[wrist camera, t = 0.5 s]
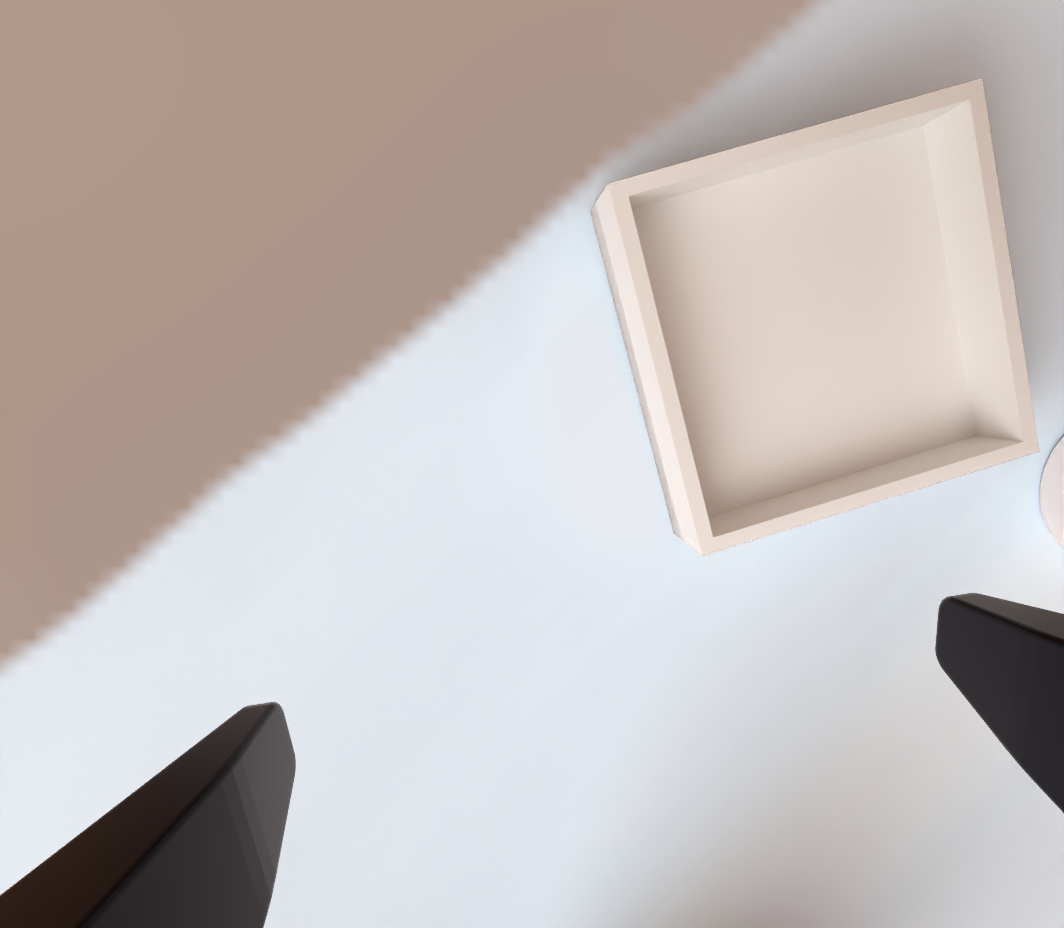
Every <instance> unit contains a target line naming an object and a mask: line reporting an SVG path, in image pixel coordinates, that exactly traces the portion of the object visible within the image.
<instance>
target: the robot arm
mask: <svg viewBox="0 0 1064 928" xmlns="http://www.w3.org/2000/svg"><path fill="white" fill-rule="evenodd" d="M935 649H936V656H937V659H938V662H939V664H940V666H941V667H942V669H943V670H944V671H945V673H946V674H947V675H948V676H949V678H950V679H951V680H952V681H953V683H954V684H955V685H956V687H957V688H958V689H959V690H960V692H961V693H962V694H963V695H964V697H965V698H966V699H967V700H968V702H969V703H970V704H971V705H972V707H973V708H974V709H975V710H976V712H977V713H978V714H979V715H980V717H981V718H982V719H983V720H984V722H985V723H986V724H987V725H988V727H989V728H990V729H991V731H992V732H993V733H994V734H995V736H996V737H997V738H998V739H999V741H1000V742H1001V743H1002V744H1003V746H1004V747H1005V748H1006V749H1007V751H1008V752H1009V753H1010V754H1011V755H1012V757H1013V758H1014V759H1015V760H1016V761H1017V763H1018V764H1019V765H1020V766H1021V767H1022V768H1023V770H1024V771H1025V772H1026V773H1027V774H1028V775H1029V776H1030V777H1031V778H1032V780H1033V781H1034V782H1035V783H1036V784H1037V785H1038V786H1039V787H1040V788H1041V789H1042V790H1043V791H1044V792H1045V794H1046V795H1047V796H1048V797H1049V798H1050V799H1051V800H1052V801H1053V802H1054V803H1055V804H1056V805H1057V806H1058V807H1059V808H1060V810H1061V811H1062V812H1063V813H1064V614H1061V613H1057V612H1053V611H1049V610H1045V609H1040V608H1036V607H1032V606H1028V605H1024V604H1020V603H1015V602H1011V601H1007V600H1003V599H999V598H994V597H990V596H986V595H982V594H977V593H968V594H962V595H956V596H950V597H946V598H945V599H943V600H942V602H941V604H940V605H939V612H938V623H937V635H936V647H935ZM295 767H296V762H295V753H294V749H293V746H292V742H291V738H290V734H289V731H288V727H287V723H286V719H285V716H284V712H283V710H282V708H281V706H280V705H279V704H278V703H276V702H270V703H263V704H257V705H250V706H246V707H244V708H242V709H241V710H240V711H238V712H237V713H236V714H234V715H233V716H232V717H231V718H229V719H228V720H227V721H225V722H224V723H223V724H222V725H220V726H219V727H218V728H216V729H215V730H214V731H212V732H211V733H210V734H209V735H207V736H206V737H205V738H203V739H202V740H201V741H200V742H198V743H197V744H196V745H194V746H193V747H192V748H190V749H189V750H188V751H187V752H185V753H184V754H183V755H181V756H180V757H179V758H177V759H176V760H175V761H174V762H172V763H171V764H170V765H168V766H167V767H166V768H165V769H163V770H162V771H161V772H159V773H158V774H157V775H155V776H154V777H153V778H152V779H150V780H149V781H148V782H146V783H145V784H144V785H143V786H141V787H140V788H139V789H137V790H136V791H135V792H133V793H132V794H131V795H130V796H128V797H127V798H126V799H124V800H123V801H122V802H121V803H119V804H118V805H117V806H115V807H114V808H113V809H111V810H110V811H109V812H108V813H106V814H105V815H104V816H102V817H101V818H100V819H98V820H97V821H96V822H95V823H93V824H92V825H91V826H89V827H88V828H87V829H86V830H84V831H83V832H82V833H80V834H79V835H78V836H76V837H75V838H74V839H73V840H71V841H70V842H69V843H67V844H66V845H65V846H64V847H62V848H61V849H60V850H58V851H57V852H56V853H54V854H53V855H52V856H51V857H49V858H48V859H47V860H45V861H44V862H43V863H42V864H40V865H39V866H38V867H36V868H35V869H34V870H32V871H31V872H30V873H29V874H27V875H26V876H25V877H23V878H22V879H21V880H19V881H18V882H17V883H16V884H14V885H13V886H12V887H10V888H9V889H8V890H7V891H5V892H4V893H3V894H1V895H0V928H263V927H264V923H265V920H266V916H267V912H268V909H269V905H270V901H271V897H272V892H273V888H274V883H275V878H276V873H277V868H278V862H279V857H280V852H281V846H282V841H283V836H284V830H285V825H286V819H287V814H288V809H289V803H290V798H291V793H292V787H293V782H294V777H295Z"/></svg>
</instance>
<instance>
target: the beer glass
mask: <svg viewBox="0 0 1064 928" xmlns="http://www.w3.org/2000/svg"><path fill="white" fill-rule="evenodd" d="M1040 507H1041V512H1042V516H1043V519H1044V522H1045V524H1046V526H1047V528H1048V530H1049V532H1050V533H1051V535H1052V536H1053V537H1054V539H1055V540H1056V541H1057V542H1058V543H1059V544H1060V545H1061V546H1063V547H1064V436H1063V437H1062V438H1061V440H1060V441H1059V442H1058V443H1057V445H1056V446H1055V448H1054V449H1053V451H1052V452H1051V454H1050V456H1049V458H1048V460H1047V462H1046V465H1045V467H1044V470H1043V474H1042V478H1041V483H1040Z"/></svg>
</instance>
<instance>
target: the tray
mask: <svg viewBox="0 0 1064 928" xmlns="http://www.w3.org/2000/svg"><path fill="white" fill-rule="evenodd" d="M590 212H591V216H592V220H593V223H594V227H595V231H596V235H597V239H598V243H599V247H600V250H601V254H602V258H603V262H604V266H605V270H606V274H607V277H608V281H609V285H610V289H611V293H612V297H613V301H614V304H615V308H616V312H617V316H618V320H619V324H620V328H621V331H622V335H623V339H624V343H625V347H626V351H627V355H628V358H629V362H630V366H631V370H632V374H633V378H634V382H635V386H636V389H637V393H638V397H639V401H640V405H641V409H642V413H643V416H644V420H645V424H646V428H647V432H648V436H649V440H650V443H651V447H652V451H653V455H654V459H655V463H656V467H657V470H658V474H659V478H660V482H661V486H662V490H663V494H664V497H665V501H666V505H667V509H668V513H669V517H670V521H671V524H672V528H673V532H674V534H675V535H677V536H678V537H679V538H680V539H682V540H683V541H684V542H685V543H687V544H688V545H689V546H690V547H692V548H693V549H694V550H695V551H697V552H698V553H699V554H700V555H702V556H705V555H708V554H711V553H714V552H717V551H721V550H724V549H727V548H730V547H734V546H737V545H740V544H743V543H746V542H750V541H753V540H756V539H759V538H763V537H766V536H769V535H772V534H775V533H779V532H782V531H785V530H788V529H792V528H795V527H798V526H801V525H804V524H808V523H811V522H814V521H817V520H821V519H824V518H827V517H830V516H833V515H837V514H840V513H843V512H846V511H850V510H853V509H856V508H859V507H862V506H866V505H869V504H872V503H875V502H879V501H882V500H885V499H888V498H891V497H895V496H898V495H901V494H904V493H908V492H911V491H914V490H917V489H920V488H924V487H927V486H930V485H933V484H937V483H940V482H943V481H946V480H949V479H953V478H956V477H959V476H962V475H966V474H969V473H972V472H975V471H978V470H982V469H985V468H988V467H991V466H995V465H998V464H1001V463H1004V462H1007V461H1011V460H1014V459H1017V458H1020V457H1024V456H1027V455H1030V454H1033V453H1036V452H1039V445H1038V439H1037V432H1036V426H1035V419H1034V413H1033V406H1032V399H1031V393H1030V386H1029V380H1028V373H1027V367H1026V360H1025V354H1024V347H1023V341H1022V334H1021V328H1020V321H1019V314H1018V308H1017V301H1016V295H1015V288H1014V282H1013V275H1012V269H1011V262H1010V256H1009V249H1008V243H1007V236H1006V230H1005V223H1004V216H1003V210H1002V203H1001V197H1000V190H999V184H998V177H997V171H996V164H995V158H994V151H993V145H992V138H991V131H990V125H989V118H988V112H987V105H986V99H985V92H984V86H983V79H982V78H980V79H977V80H973V81H970V82H966V83H963V84H959V85H956V86H952V87H949V88H945V89H941V90H938V91H934V92H931V93H927V94H924V95H920V96H917V97H913V98H910V99H906V100H902V101H899V102H895V103H892V104H888V105H885V106H881V107H878V108H874V109H871V110H867V111H863V112H860V113H856V114H853V115H849V116H846V117H842V118H839V119H835V120H832V121H828V122H825V123H821V124H817V125H814V126H810V127H807V128H803V129H800V130H796V131H793V132H789V133H786V134H782V135H778V136H775V137H771V138H768V139H764V140H761V141H757V142H754V143H750V144H747V145H743V146H739V147H736V148H732V149H729V150H725V151H722V152H718V153H715V154H711V155H708V156H704V157H701V158H697V159H693V160H690V161H686V162H683V163H679V164H676V165H672V166H669V167H665V168H662V169H658V170H654V171H651V172H647V173H644V174H640V175H637V176H633V177H630V178H626V179H623V180H619V181H616V182H612V183H608V185H607V186H606V188H605V189H604V191H603V192H602V194H601V195H600V197H599V198H598V200H597V201H596V203H595V204H594V206H593V207H592V209H591V210H590Z"/></svg>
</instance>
